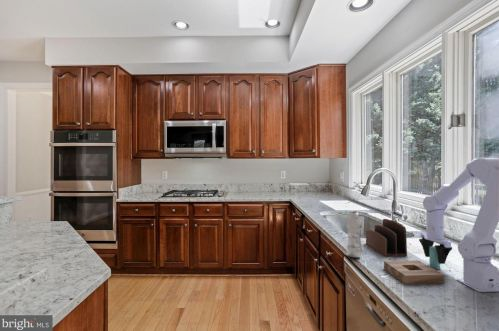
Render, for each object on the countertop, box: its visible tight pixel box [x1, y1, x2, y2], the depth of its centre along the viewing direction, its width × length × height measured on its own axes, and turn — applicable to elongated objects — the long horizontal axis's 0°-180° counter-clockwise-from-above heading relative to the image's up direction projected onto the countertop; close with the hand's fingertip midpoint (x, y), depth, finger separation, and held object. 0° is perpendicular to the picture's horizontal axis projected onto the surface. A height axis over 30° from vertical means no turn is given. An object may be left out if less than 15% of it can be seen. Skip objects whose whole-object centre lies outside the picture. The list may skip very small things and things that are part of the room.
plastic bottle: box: [346, 211, 363, 259], centre depth 124 cm, size 6×7×20 cm
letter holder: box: [365, 218, 408, 258], centre depth 134 cm, size 10×20×14 cm, turn 2°
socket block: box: [383, 259, 445, 285], centre depth 103 cm, size 14×14×3 cm
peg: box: [428, 245, 441, 270], centre depth 111 cm, size 4×4×8 cm
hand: (434, 259), depth 111 cm, fingers open, 7 cm apart
